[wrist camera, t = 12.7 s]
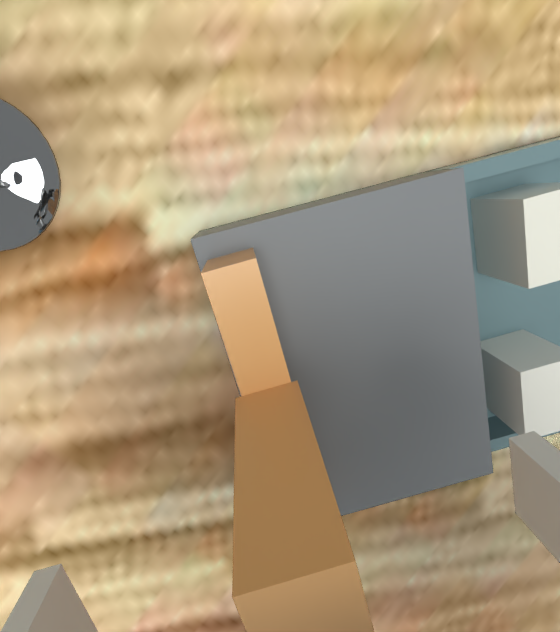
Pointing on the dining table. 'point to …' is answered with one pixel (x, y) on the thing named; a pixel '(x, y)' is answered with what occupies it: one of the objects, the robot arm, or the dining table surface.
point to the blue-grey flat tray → (500, 296)
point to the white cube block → (523, 381)
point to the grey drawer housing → (377, 331)
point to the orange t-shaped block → (279, 477)
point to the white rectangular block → (519, 234)
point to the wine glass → (25, 179)
